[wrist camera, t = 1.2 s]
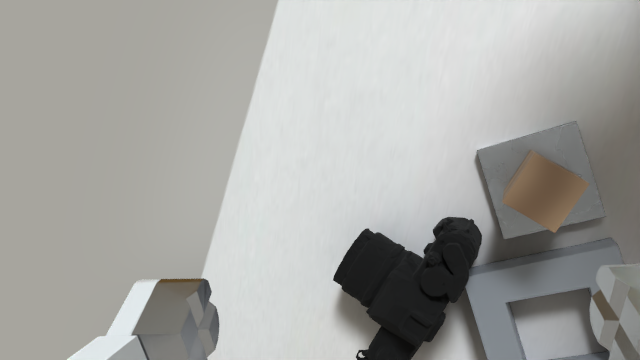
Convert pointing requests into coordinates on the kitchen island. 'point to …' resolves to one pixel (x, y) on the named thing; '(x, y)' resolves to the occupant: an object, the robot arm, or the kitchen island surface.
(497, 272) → the hole plate
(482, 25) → the kitchen island surface
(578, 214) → the pad
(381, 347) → the film camera
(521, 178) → the walnut peg
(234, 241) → the kitchen island surface
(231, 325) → the kitchen island surface
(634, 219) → the kitchen island surface
